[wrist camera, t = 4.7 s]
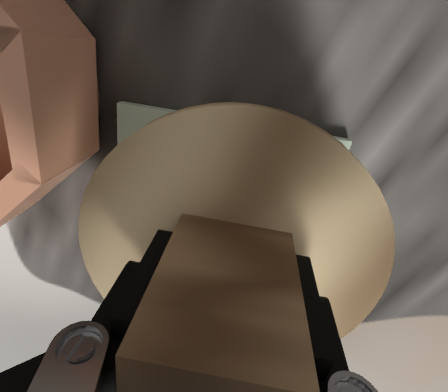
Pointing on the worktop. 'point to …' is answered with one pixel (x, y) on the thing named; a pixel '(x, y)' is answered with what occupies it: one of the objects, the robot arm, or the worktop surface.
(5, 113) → the bowl
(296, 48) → the worktop surface
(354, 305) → the lid
